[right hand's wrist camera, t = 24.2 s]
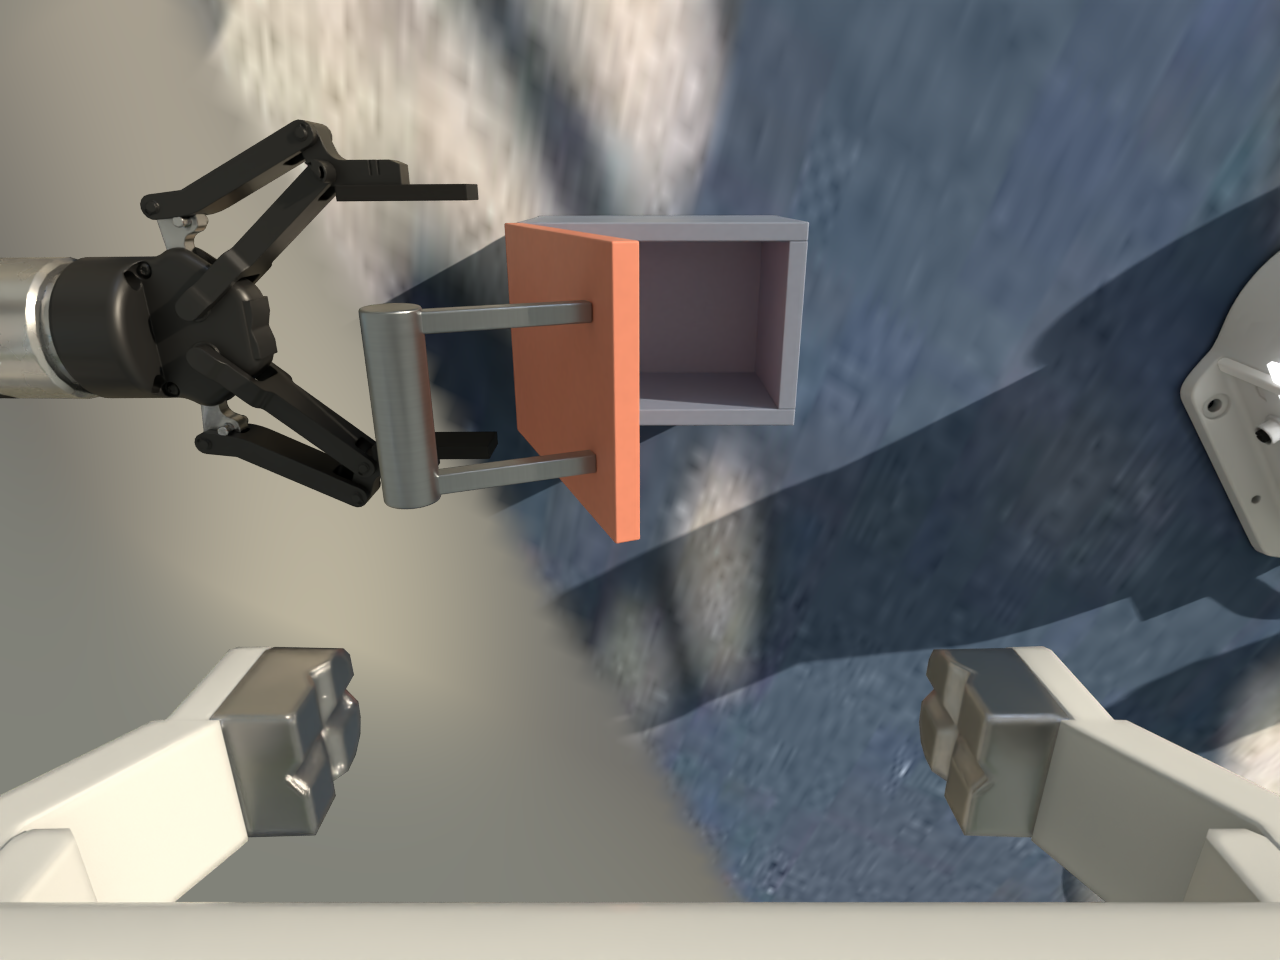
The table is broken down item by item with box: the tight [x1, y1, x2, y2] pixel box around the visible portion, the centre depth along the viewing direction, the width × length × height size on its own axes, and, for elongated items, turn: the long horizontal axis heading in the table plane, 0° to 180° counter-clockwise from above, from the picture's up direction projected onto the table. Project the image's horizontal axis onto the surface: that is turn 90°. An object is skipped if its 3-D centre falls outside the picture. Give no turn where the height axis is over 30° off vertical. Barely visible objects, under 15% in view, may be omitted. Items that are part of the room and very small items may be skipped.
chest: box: [518, 215, 809, 425], centre depth 42 cm, size 14×10×10 cm
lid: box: [359, 223, 640, 543], centre depth 30 cm, size 15×10×8 cm
